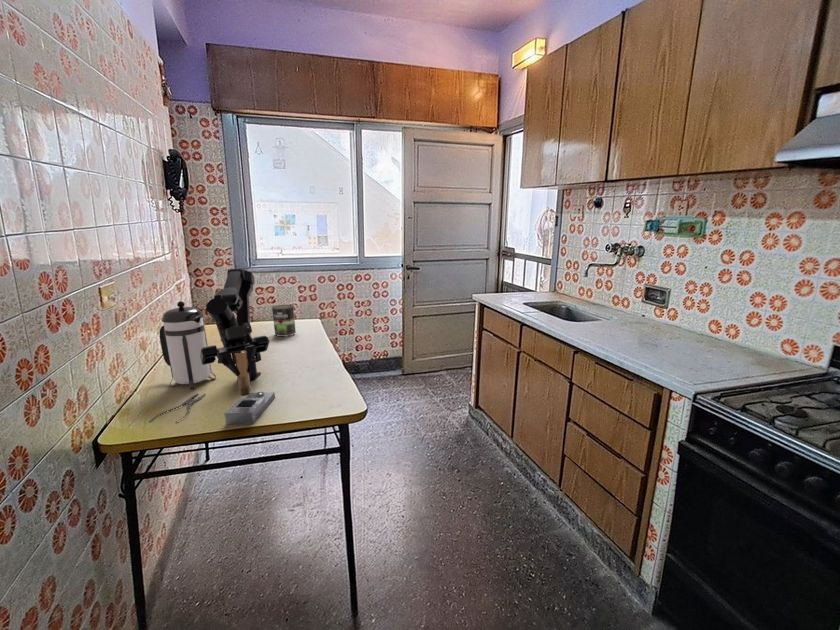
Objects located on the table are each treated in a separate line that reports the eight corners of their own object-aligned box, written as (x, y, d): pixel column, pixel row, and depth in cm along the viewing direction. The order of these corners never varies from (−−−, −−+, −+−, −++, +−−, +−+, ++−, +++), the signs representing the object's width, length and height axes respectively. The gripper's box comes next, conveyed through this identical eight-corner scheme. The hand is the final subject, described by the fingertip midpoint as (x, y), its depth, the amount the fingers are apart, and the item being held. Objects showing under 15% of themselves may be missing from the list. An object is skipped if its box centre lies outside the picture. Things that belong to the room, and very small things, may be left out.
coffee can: (292, 336, 206) (289, 308, 203) (271, 337, 207) (268, 309, 203) (299, 330, 216) (296, 304, 213) (279, 331, 217) (276, 304, 213)
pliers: (145, 423, 122) (176, 394, 141) (146, 426, 122) (176, 397, 141) (180, 421, 123) (206, 392, 142) (181, 423, 123) (207, 395, 142)
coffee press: (218, 371, 163) (207, 295, 155) (214, 386, 148) (201, 303, 141) (167, 378, 157) (153, 299, 150) (157, 394, 142) (141, 308, 135)
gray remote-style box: (251, 397, 138) (250, 387, 137) (275, 397, 138) (273, 387, 137) (226, 424, 121) (224, 413, 120) (253, 424, 121) (251, 412, 120)
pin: (242, 391, 127) (236, 350, 123) (253, 391, 126) (247, 350, 123) (237, 395, 123) (232, 353, 120) (248, 395, 123) (243, 353, 120)
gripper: (196, 320, 117) (211, 368, 111) (263, 309, 128) (280, 353, 122) (194, 341, 125) (208, 387, 119) (258, 329, 136) (274, 371, 130)
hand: (244, 374), depth 122 cm, fingers closed on pin, 3 cm apart
